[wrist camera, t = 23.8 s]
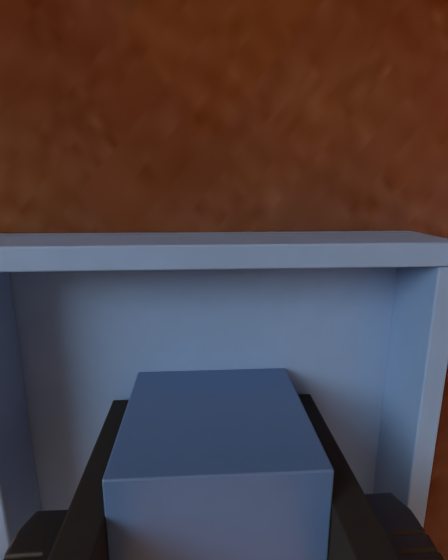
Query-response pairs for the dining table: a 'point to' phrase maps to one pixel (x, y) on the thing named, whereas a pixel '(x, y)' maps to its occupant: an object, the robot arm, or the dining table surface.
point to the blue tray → (220, 342)
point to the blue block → (217, 470)
